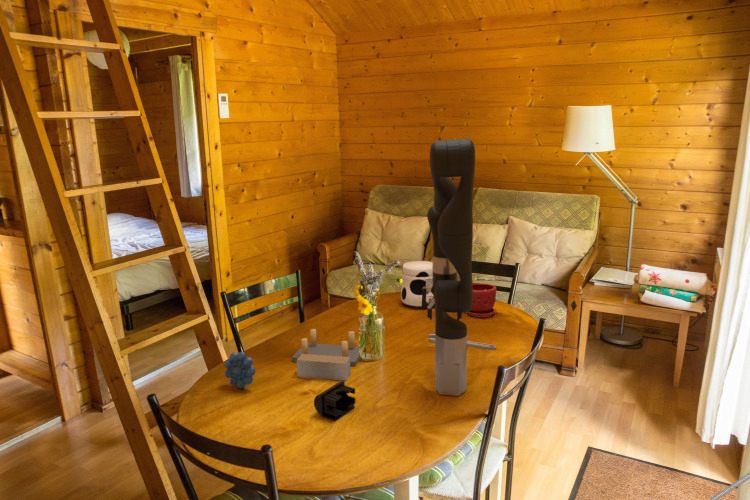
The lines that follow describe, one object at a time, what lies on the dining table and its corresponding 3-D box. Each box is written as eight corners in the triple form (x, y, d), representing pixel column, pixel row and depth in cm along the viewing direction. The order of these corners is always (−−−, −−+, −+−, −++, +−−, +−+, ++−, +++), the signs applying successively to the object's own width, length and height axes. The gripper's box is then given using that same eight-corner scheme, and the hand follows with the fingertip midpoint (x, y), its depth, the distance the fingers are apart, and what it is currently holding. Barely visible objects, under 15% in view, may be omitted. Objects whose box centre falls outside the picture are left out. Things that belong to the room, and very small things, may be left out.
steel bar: (346, 381, 171) (345, 363, 169) (297, 377, 174) (296, 359, 173) (350, 374, 175) (350, 357, 174) (303, 371, 179) (302, 353, 178)
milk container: (406, 297, 255) (406, 259, 251) (443, 300, 249) (443, 261, 245) (396, 308, 239) (395, 268, 235) (435, 312, 233) (435, 270, 229)
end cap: (336, 400, 159) (336, 378, 157) (356, 407, 155) (356, 384, 153) (313, 415, 151) (312, 392, 149) (334, 422, 147) (333, 399, 145)
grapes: (265, 386, 168) (262, 349, 166) (250, 395, 163) (248, 357, 160) (235, 378, 174) (233, 343, 171) (220, 387, 168) (217, 350, 165)
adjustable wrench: (496, 349, 194) (496, 344, 194) (490, 356, 189) (490, 351, 188) (431, 336, 206) (431, 332, 206) (424, 342, 201) (424, 338, 201)
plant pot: (500, 312, 232) (500, 284, 229) (488, 321, 221) (489, 292, 218) (470, 307, 238) (471, 280, 236) (458, 316, 228) (458, 288, 225)
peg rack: (355, 366, 181) (354, 344, 180) (292, 361, 186) (291, 340, 184) (364, 350, 194) (364, 330, 192) (305, 346, 198) (304, 327, 197)
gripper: (420, 272, 167) (421, 323, 170) (468, 273, 164) (467, 324, 168) (422, 266, 174) (422, 314, 178) (468, 266, 172) (467, 315, 176)
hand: (444, 319), depth 173 cm, fingers open, 8 cm apart
